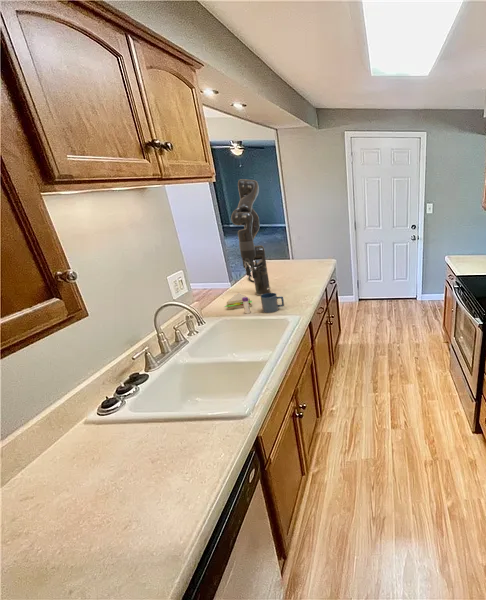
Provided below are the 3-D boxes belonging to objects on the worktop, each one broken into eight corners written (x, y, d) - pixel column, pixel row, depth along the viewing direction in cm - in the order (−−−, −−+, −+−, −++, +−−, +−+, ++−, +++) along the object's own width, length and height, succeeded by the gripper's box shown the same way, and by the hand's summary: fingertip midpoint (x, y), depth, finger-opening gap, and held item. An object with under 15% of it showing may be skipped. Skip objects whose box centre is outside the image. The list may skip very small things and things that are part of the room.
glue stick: (244, 312, 195) (241, 297, 192) (249, 311, 197) (246, 296, 194) (245, 314, 193) (243, 299, 190) (251, 312, 195) (248, 297, 192)
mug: (261, 313, 194) (259, 298, 191) (264, 307, 203) (262, 293, 199) (283, 311, 197) (281, 296, 193) (285, 306, 205) (283, 292, 202)
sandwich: (256, 297, 220) (255, 290, 218) (251, 308, 202) (250, 300, 200) (231, 299, 216) (230, 292, 215) (224, 310, 199) (222, 302, 197)
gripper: (259, 249, 180) (263, 277, 186) (248, 246, 190) (253, 273, 195) (245, 251, 175) (250, 280, 181) (235, 248, 185) (240, 275, 190)
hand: (252, 276), depth 188 cm, fingers open, 8 cm apart
